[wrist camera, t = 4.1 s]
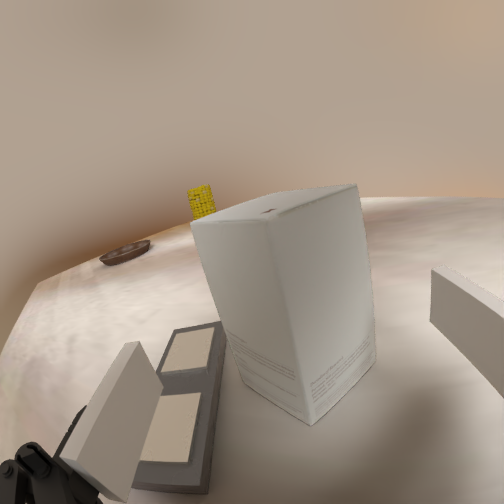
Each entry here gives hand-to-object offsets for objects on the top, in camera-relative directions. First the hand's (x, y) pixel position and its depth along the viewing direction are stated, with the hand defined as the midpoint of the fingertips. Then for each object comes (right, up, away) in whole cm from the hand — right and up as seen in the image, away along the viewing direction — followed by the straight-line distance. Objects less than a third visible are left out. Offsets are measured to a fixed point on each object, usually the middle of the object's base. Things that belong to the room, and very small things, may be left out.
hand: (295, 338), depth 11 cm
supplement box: (+2, -6, +8) cm, 10 cm away
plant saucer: (-40, +1, +71) cm, 82 cm away
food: (-19, +16, +99) cm, 103 cm away
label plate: (-7, -8, +8) cm, 13 cm away
